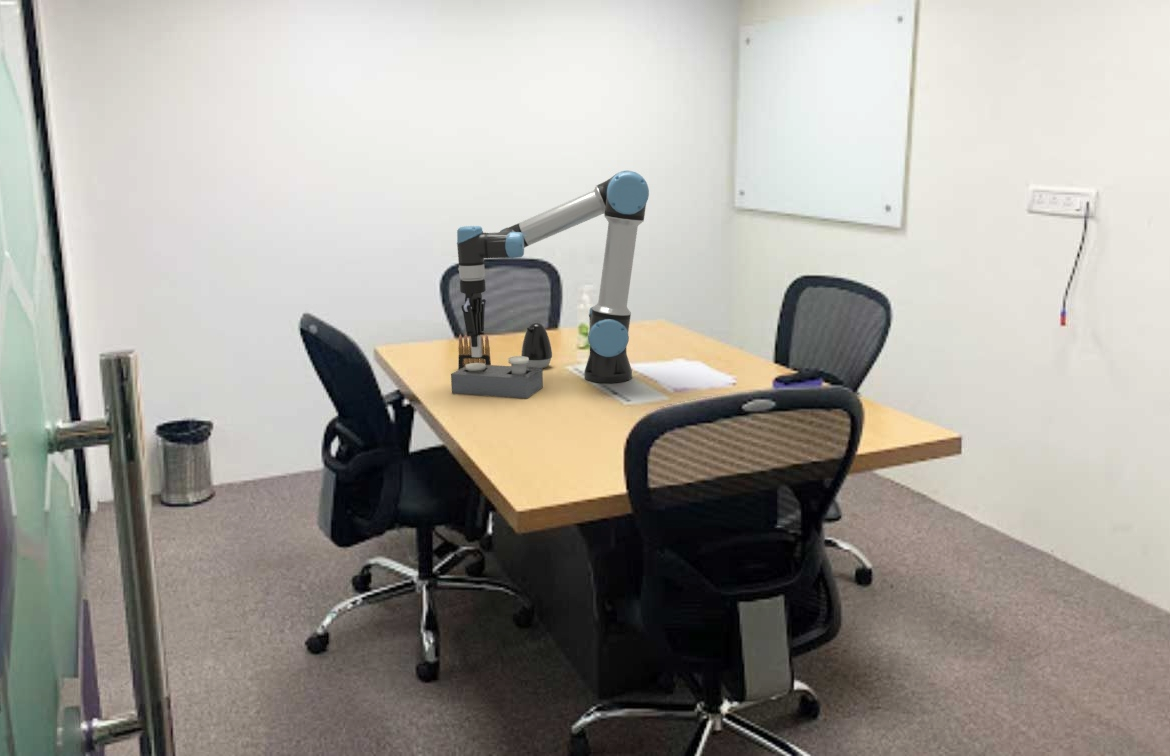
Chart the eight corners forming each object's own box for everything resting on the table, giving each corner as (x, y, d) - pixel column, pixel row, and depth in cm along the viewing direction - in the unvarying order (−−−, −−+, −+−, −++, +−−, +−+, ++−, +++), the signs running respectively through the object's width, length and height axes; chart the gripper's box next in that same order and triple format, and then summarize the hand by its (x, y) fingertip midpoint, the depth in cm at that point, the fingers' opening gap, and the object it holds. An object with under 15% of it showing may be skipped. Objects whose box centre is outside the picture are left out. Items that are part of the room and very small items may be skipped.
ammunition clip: (458, 370, 311) (456, 334, 308) (459, 368, 313) (458, 333, 310) (490, 370, 310) (488, 334, 307) (491, 369, 312) (490, 333, 309)
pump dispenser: (515, 369, 311) (514, 324, 307) (531, 362, 320) (530, 319, 316) (542, 372, 306) (541, 326, 303) (557, 365, 315) (557, 321, 312)
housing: (542, 387, 287) (542, 368, 285) (526, 398, 274) (526, 378, 272) (470, 382, 294) (469, 363, 292) (451, 393, 281) (450, 373, 279)
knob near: (532, 379, 283) (531, 356, 281) (525, 384, 277) (524, 361, 276) (513, 378, 285) (512, 355, 283) (506, 382, 279) (505, 359, 277)
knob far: (489, 385, 288) (488, 363, 286) (481, 390, 282) (480, 367, 280) (471, 384, 289) (470, 362, 288) (463, 389, 284) (462, 366, 282)
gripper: (469, 275, 285) (474, 351, 291) (451, 281, 273) (456, 360, 278) (492, 276, 283) (496, 352, 288) (475, 282, 271) (479, 361, 276)
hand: (476, 356), depth 283 cm, fingers closed
